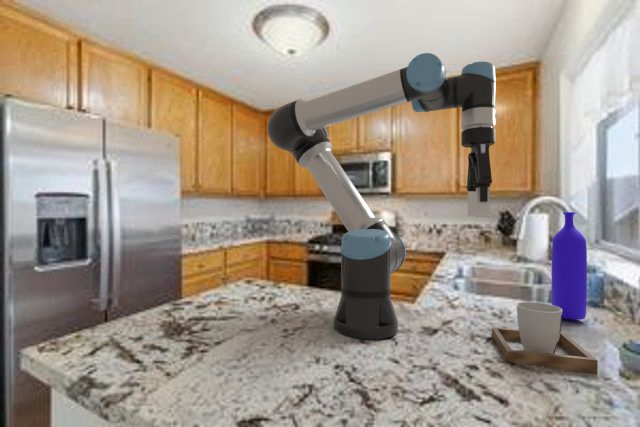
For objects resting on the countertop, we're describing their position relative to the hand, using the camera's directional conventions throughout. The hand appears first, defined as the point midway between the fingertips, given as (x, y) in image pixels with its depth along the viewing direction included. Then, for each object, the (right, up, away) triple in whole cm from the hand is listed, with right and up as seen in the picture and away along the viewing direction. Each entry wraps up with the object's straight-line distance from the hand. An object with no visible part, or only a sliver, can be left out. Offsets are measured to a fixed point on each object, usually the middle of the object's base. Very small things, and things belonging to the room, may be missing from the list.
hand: (477, 216), depth 85 cm
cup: (+7, -29, -12) cm, 32 cm away
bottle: (+33, -29, +16) cm, 47 cm away
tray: (+8, -29, -11) cm, 32 cm away
